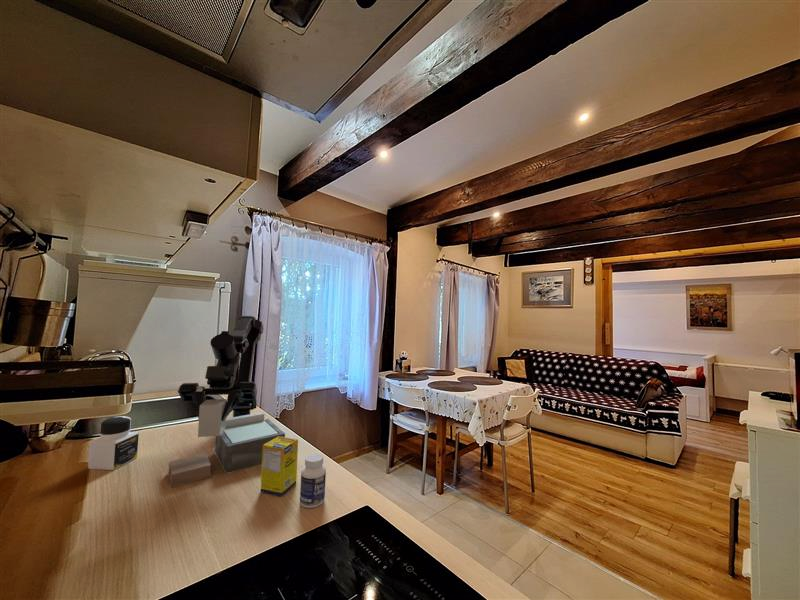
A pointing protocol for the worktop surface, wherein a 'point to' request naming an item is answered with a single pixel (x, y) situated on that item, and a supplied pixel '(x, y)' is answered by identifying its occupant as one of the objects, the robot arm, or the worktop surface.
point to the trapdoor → (247, 428)
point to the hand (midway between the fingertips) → (211, 420)
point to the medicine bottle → (113, 445)
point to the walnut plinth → (189, 470)
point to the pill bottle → (313, 481)
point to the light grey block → (211, 418)
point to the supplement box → (279, 465)
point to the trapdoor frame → (242, 450)
